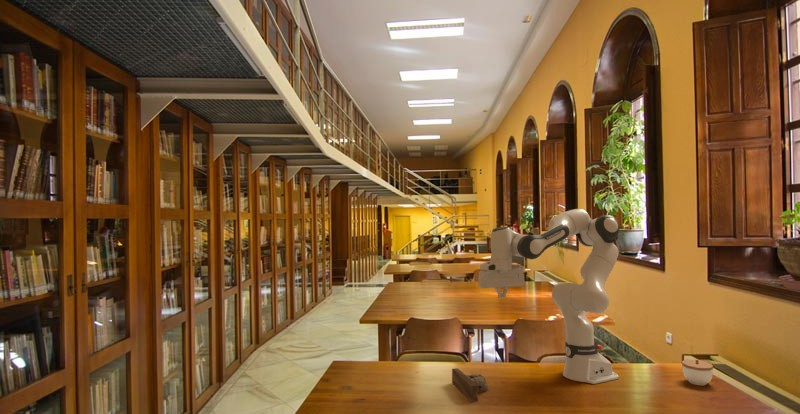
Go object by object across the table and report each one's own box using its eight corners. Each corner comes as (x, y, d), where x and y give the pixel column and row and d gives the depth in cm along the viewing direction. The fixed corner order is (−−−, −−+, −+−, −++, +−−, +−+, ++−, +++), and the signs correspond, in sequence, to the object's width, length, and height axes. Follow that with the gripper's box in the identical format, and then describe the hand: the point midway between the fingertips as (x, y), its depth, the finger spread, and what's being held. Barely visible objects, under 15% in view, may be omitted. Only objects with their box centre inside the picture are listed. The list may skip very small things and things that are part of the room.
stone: (459, 373, 194) (483, 371, 194) (461, 388, 193) (485, 386, 192) (462, 379, 181) (487, 376, 181) (464, 394, 180) (489, 392, 179)
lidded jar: (686, 376, 197) (685, 354, 197) (716, 382, 189) (715, 359, 190) (678, 382, 190) (678, 359, 190) (709, 389, 182) (709, 365, 182)
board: (458, 382, 192) (457, 368, 192) (477, 401, 173) (477, 385, 173) (452, 383, 191) (452, 368, 191) (471, 402, 172) (471, 386, 172)
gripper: (519, 263, 204) (520, 294, 204) (476, 265, 199) (476, 297, 199) (527, 264, 198) (527, 297, 198) (482, 266, 193) (483, 300, 193)
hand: (501, 297), depth 198 cm, fingers closed
